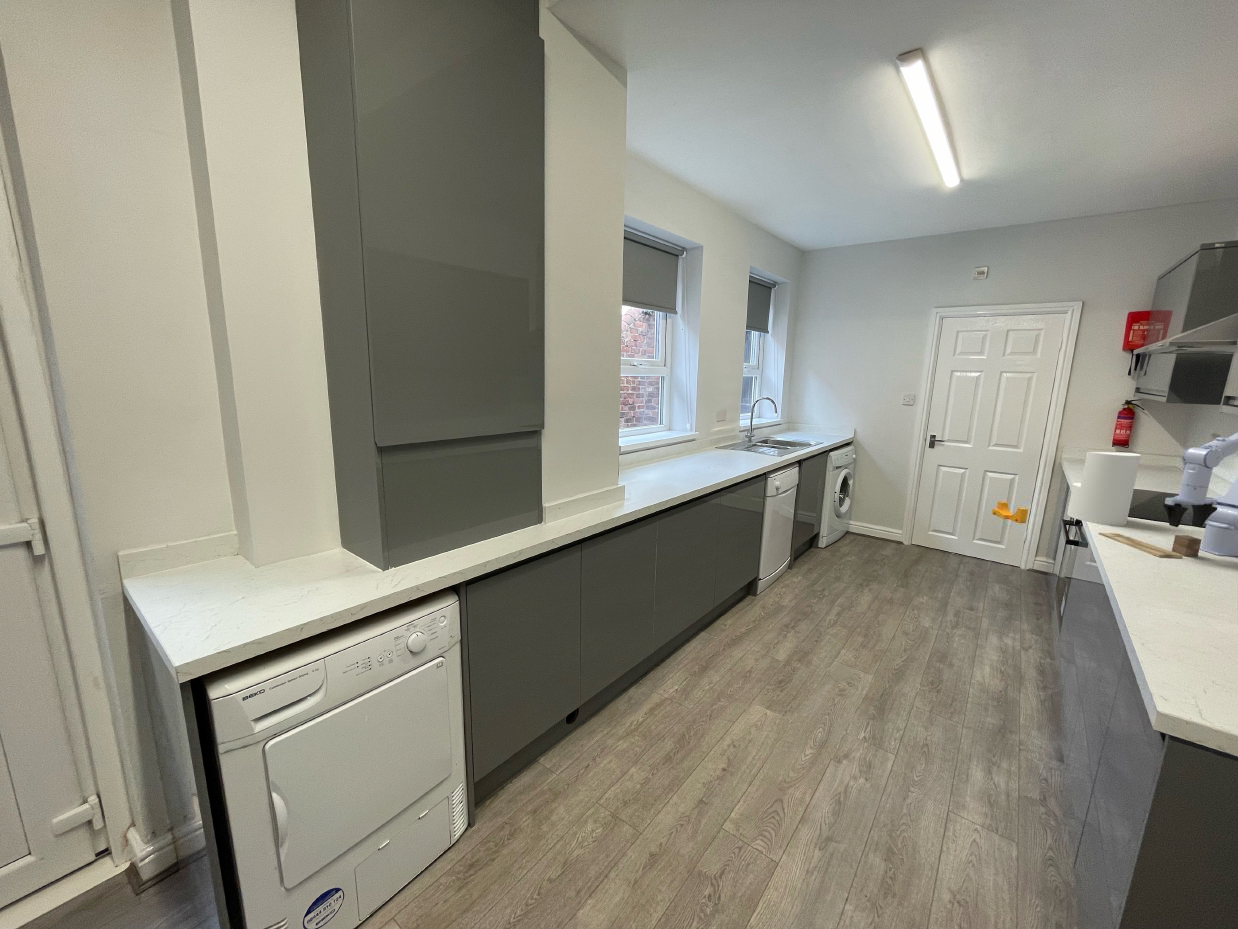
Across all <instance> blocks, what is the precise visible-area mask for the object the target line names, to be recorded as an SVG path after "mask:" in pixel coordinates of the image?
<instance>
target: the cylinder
mask: <svg viewBox="0 0 1238 929" xmlns="http://www.w3.org/2000/svg"><path fill="white" fill-rule="evenodd" d="M1141 457H1142V455H1141V454H1140V453H1134V452H1114V451H1113V452H1112V451H1111V452H1109V451H1108V452H1106V451H1104V452H1103V451H1099V452H1098V451H1087V452H1086V456H1085V461H1084V467H1083V473H1082V477H1081V482H1073V483H1072V487H1071V494H1070V498H1069V501H1068V502H1069V503H1068V508H1067V513H1066V515H1067V516H1068V517H1070V518H1073V519H1076V520H1079V521H1083V522H1087V523H1092V524H1098V525H1107V526H1125V525H1127V522H1128V517H1129V513H1130V507H1131V504H1132V500H1133V495H1134V494H1133V493H1134V489H1135V485H1136V480H1137V475H1138V470H1139V467H1140V461H1141Z"/></svg>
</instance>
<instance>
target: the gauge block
mask: <svg viewBox="0 0 1238 929" xmlns="http://www.w3.org/2000/svg"><path fill="white" fill-rule="evenodd" d="M1202 541H1203V538H1202V539H1201V538H1198V537H1194V536H1192V535H1188V534H1187V535H1184V534H1175V535H1174V539H1173V542H1172V549H1171V551H1172V552H1175V553H1178V554H1181V555H1183V557H1189V558H1192V557H1193V558H1197V557H1199V552H1200V546H1201V545H1202Z"/></svg>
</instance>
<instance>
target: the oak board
mask: <svg viewBox="0 0 1238 929" xmlns="http://www.w3.org/2000/svg"><path fill="white" fill-rule="evenodd" d="M1098 535H1100V536H1102V537H1105V538H1107V539H1110V540H1113V541H1114V542H1115V541H1116V542H1118V543H1120V544H1123V545H1125V546H1128V547H1130V548H1133V549H1136V550H1139V551H1141V552H1143V553H1146V554H1149V555H1152V556H1154V557H1157V558H1169V559H1171V558H1172V559H1183V557H1184V556H1183V555H1181V554H1178V553H1175V552H1172V550H1169V549H1165V548H1163V547H1160V546H1157V545H1154V544H1152V543H1148V542H1146V541H1143V540H1140V539H1135V538H1133V537H1131V536H1128V535H1125V534H1121V533H1115V532H1114V533H1113V532H1111V533H1109V532H1098Z"/></svg>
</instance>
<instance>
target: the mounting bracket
mask: <svg viewBox="0 0 1238 929" xmlns="http://www.w3.org/2000/svg"><path fill="white" fill-rule="evenodd" d="M1028 512H1029V508H1026V507H1017V509H1016V511H1015V513H1014V514H1013V513H1012V512H1011V511H1010V509H1009V502H1007V501H1003V500H1002V501H997V506H996V508H992V510H991V515H993V516H995V517H997V518H1001V519H1002V520H1010V521H1011V522H1014V523H1016V524H1026V523H1027V520H1028V519H1027V518H1028Z"/></svg>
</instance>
